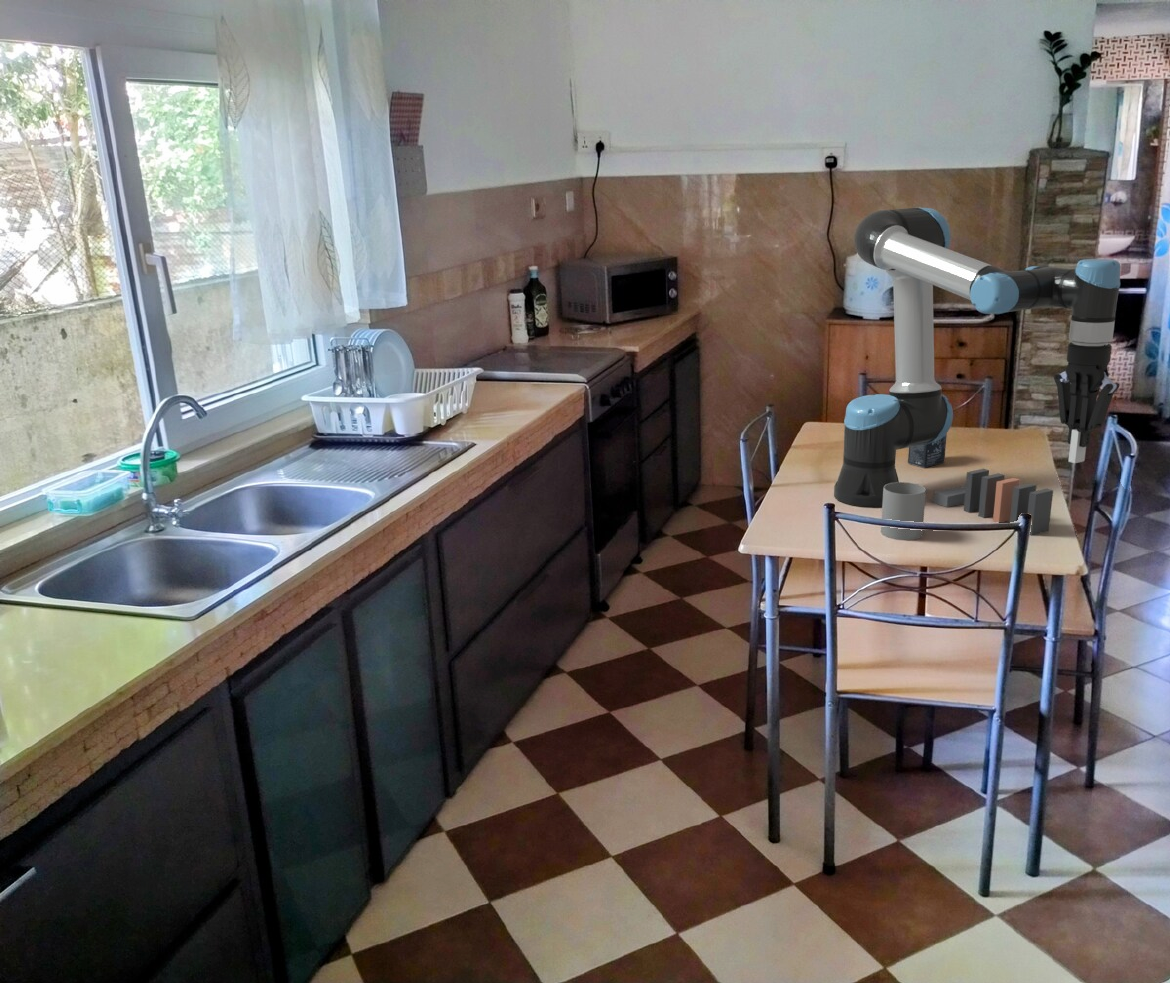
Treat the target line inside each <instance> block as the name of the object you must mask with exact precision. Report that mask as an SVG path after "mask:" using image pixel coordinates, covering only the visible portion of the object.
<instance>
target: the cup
mask: <svg viewBox="0 0 1170 983" xmlns="http://www.w3.org/2000/svg"><path fill="white" fill-rule="evenodd" d="M926 491H927V489H926V488H925V487H924V486H923V485H920V484H918V483H913V482H905V481H903V482H902V481H899V482H896V483H889V484H886V485H885V486H884V487H883V503H882V506H881V519H892V520H900V521H914V522H923V523H925V522H924V520H925V507H926V494H927V492H926ZM923 531H924V530H923ZM923 531H921V530H910V529H898V528H890V527H881V526H880V533H881V535H882V536H884V537H885V538H888V539H890V540H891V539H892V540H897V541H915V540H917V539H920V538H922V536H923V533H924V532H923Z"/></svg>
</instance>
